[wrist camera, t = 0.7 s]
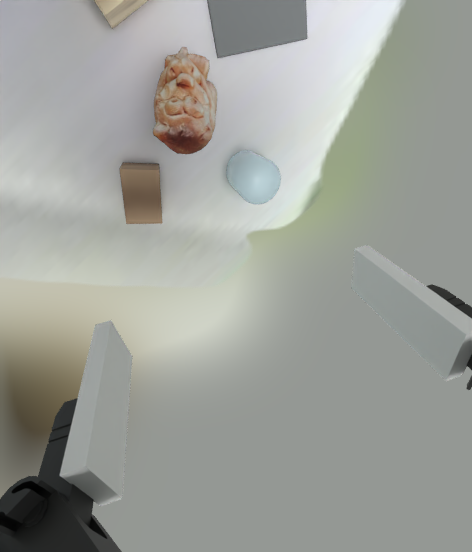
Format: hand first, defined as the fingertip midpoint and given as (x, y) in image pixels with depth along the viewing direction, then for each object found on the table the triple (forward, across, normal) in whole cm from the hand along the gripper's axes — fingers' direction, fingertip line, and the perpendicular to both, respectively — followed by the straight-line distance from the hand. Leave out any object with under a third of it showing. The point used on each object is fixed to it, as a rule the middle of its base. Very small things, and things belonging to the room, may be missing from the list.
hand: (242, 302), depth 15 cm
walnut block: (+25, -6, 0) cm, 26 cm away
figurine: (+26, +1, +8) cm, 27 cm away
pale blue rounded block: (+25, +7, 0) cm, 26 cm away
